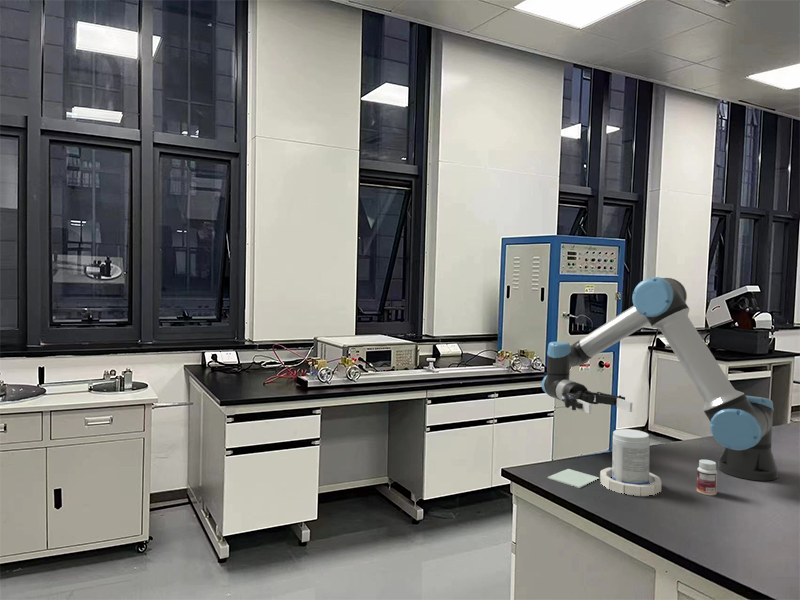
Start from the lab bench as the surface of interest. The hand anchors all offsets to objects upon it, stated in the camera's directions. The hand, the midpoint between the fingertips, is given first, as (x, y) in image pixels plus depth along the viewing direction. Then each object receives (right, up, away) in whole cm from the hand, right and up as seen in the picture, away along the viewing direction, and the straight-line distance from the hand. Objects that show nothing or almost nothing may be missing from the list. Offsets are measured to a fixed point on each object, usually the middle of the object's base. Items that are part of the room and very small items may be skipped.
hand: (610, 408), depth 165 cm
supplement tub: (+2, -20, -9) cm, 22 cm away
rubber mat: (-12, -19, -4) cm, 23 cm away
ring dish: (+2, -20, -9) cm, 22 cm away
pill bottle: (+21, -20, -13) cm, 32 cm away
